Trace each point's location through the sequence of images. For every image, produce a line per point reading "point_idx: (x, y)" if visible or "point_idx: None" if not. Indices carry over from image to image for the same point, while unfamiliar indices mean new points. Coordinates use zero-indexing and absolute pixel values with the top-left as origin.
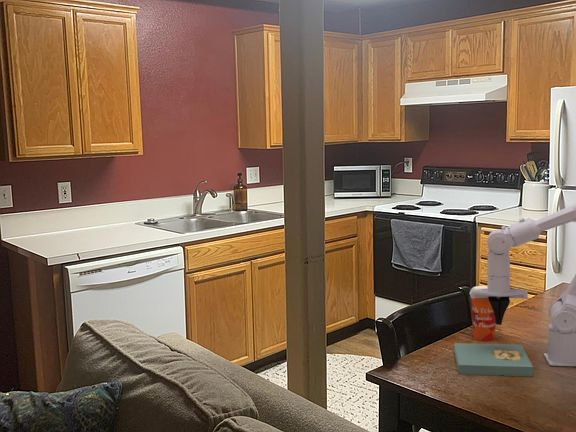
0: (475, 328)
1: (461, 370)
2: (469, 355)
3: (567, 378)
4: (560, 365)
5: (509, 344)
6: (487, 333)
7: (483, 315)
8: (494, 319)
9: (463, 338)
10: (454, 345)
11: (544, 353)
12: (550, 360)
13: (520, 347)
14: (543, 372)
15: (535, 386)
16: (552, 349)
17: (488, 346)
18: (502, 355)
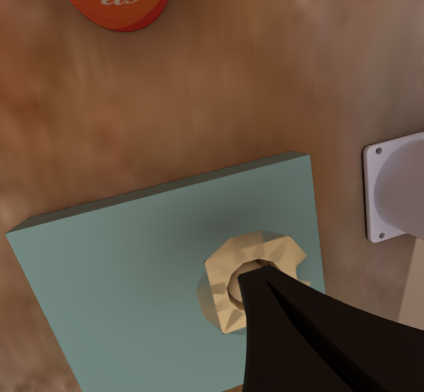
0: None
1: None
2: (119, 345)
3: (393, 304)
4: (396, 234)
5: (262, 168)
6: (141, 14)
7: None
8: None
9: (8, 6)
10: (16, 250)
11: (369, 150)
12: (377, 213)
13: (304, 191)
14: (343, 290)
15: None
16: (420, 235)
17: (177, 223)
18: (240, 301)
